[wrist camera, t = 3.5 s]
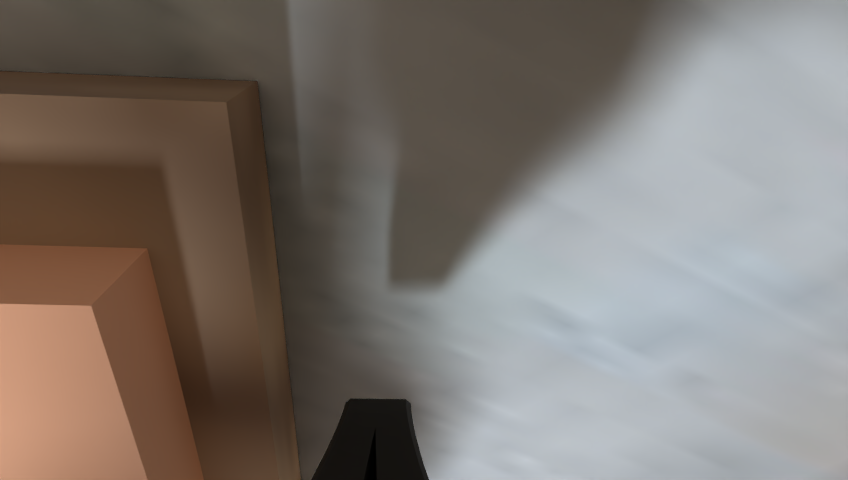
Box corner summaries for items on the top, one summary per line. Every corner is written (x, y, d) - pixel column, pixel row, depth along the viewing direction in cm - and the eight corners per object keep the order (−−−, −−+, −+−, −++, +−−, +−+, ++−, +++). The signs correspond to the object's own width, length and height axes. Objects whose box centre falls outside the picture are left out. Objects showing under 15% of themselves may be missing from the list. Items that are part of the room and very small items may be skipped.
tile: (209, 501, 14) (179, 578, 12) (-15, 499, 14) (-78, 577, 12) (146, 248, 10) (91, 305, 8) (-162, 240, 10) (-288, 297, 8)
